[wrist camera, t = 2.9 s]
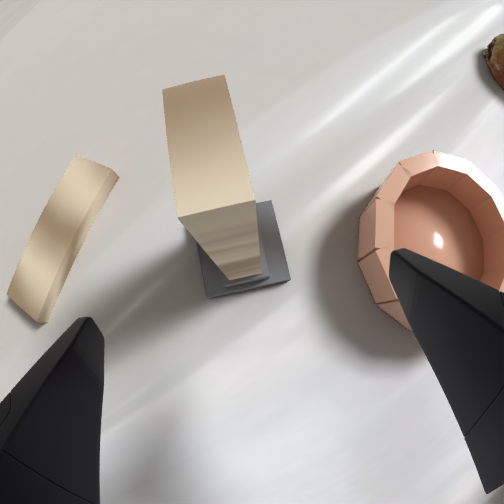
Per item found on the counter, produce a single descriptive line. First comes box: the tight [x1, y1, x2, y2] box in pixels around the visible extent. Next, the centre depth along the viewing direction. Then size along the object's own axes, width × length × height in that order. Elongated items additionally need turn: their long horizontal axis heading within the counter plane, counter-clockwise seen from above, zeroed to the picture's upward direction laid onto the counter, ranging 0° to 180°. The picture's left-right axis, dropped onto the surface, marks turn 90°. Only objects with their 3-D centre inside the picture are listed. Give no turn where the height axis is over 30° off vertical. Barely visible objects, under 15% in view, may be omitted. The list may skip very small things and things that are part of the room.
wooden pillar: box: [163, 75, 291, 298], centre depth 14 cm, size 5×5×13 cm
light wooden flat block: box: [7, 154, 119, 323], centre depth 20 cm, size 12×4×2 cm, turn 154°
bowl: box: [357, 150, 504, 331], centre depth 18 cm, size 11×11×4 cm
